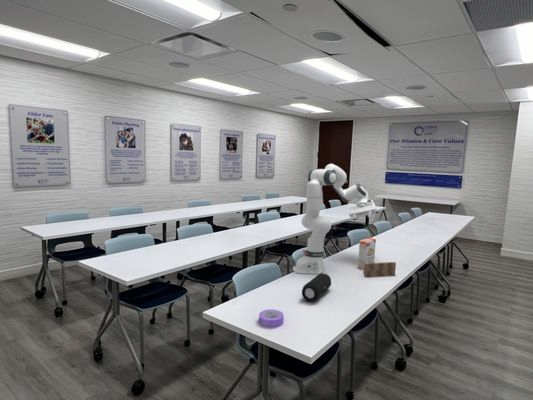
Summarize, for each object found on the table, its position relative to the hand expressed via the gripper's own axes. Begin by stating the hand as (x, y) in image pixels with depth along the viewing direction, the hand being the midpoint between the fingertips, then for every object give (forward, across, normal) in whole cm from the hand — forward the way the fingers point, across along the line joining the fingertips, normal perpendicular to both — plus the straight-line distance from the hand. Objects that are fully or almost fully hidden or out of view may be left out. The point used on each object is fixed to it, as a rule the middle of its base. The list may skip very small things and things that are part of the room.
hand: (362, 217), depth 248 cm
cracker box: (+22, -6, +29) cm, 37 cm away
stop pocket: (+34, +4, +23) cm, 42 cm away
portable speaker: (+74, -21, -15) cm, 79 cm away
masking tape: (+107, -30, -42) cm, 119 cm away
